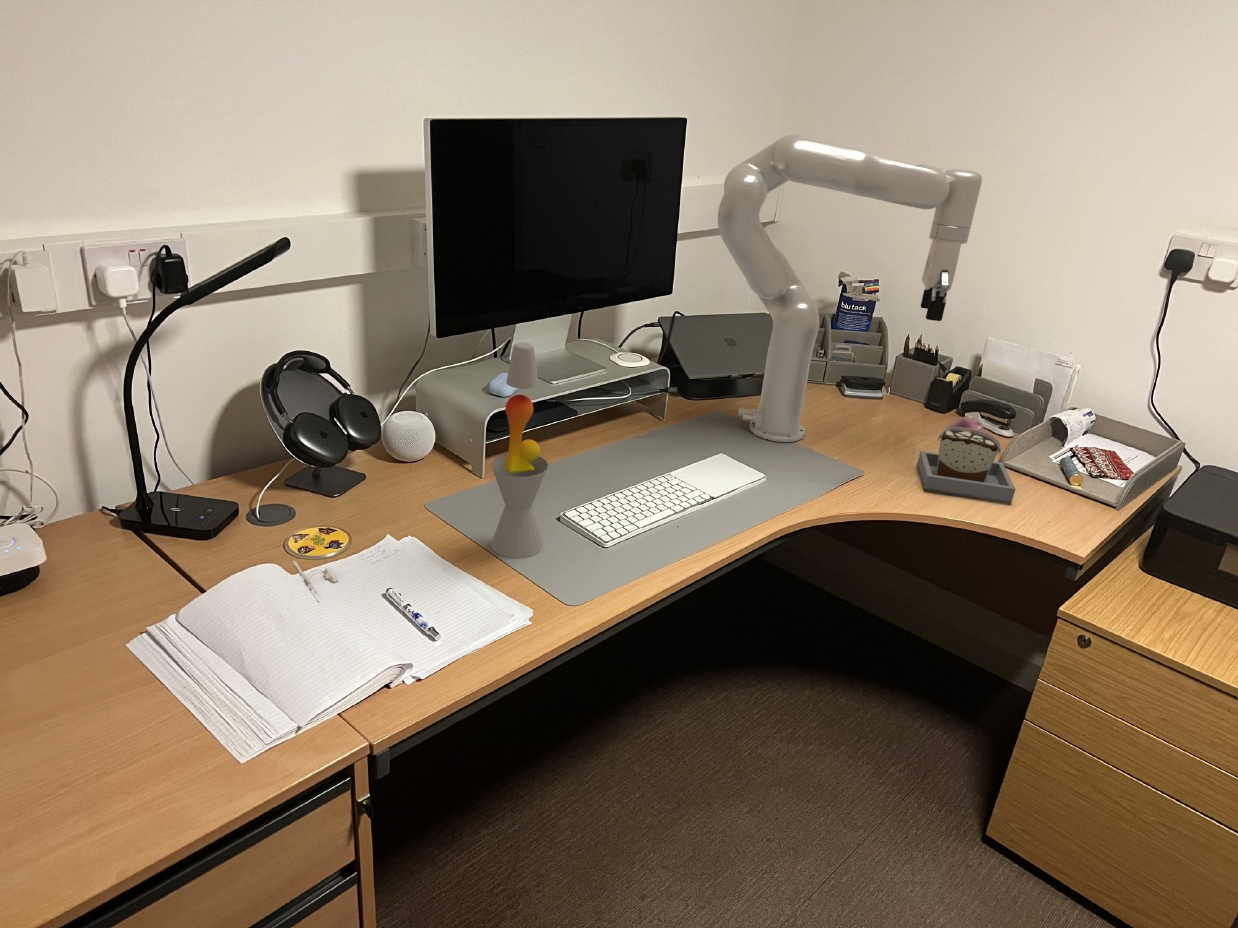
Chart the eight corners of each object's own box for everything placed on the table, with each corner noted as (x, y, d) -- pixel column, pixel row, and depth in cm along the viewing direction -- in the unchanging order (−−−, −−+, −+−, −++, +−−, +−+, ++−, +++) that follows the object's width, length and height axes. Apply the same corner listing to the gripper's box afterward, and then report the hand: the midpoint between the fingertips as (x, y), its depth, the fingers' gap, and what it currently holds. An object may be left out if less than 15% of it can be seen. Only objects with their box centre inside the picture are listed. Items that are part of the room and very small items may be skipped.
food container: (991, 478, 185) (1003, 434, 181) (990, 489, 180) (1003, 444, 176) (931, 464, 189) (941, 421, 185) (928, 475, 184) (939, 431, 180)
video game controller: (972, 456, 201) (992, 432, 199) (956, 447, 200) (977, 422, 198) (957, 439, 210) (976, 416, 208) (942, 430, 209) (961, 406, 207)
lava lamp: (498, 562, 142) (503, 355, 127) (483, 535, 149) (486, 336, 134) (551, 554, 146) (562, 352, 131) (534, 527, 153) (542, 334, 138)
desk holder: (923, 491, 179) (927, 476, 177) (916, 465, 190) (920, 450, 189) (1010, 504, 176) (1015, 489, 175) (998, 477, 188) (1002, 462, 186)
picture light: (291, 563, 138) (290, 552, 137) (318, 557, 140) (318, 545, 139) (320, 609, 128) (320, 597, 127) (350, 601, 130) (349, 589, 129)
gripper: (925, 224, 189) (908, 302, 196) (936, 238, 173) (916, 322, 181) (962, 228, 188) (943, 306, 195) (975, 242, 172) (954, 327, 180)
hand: (930, 314), depth 188 cm, fingers open, 9 cm apart
